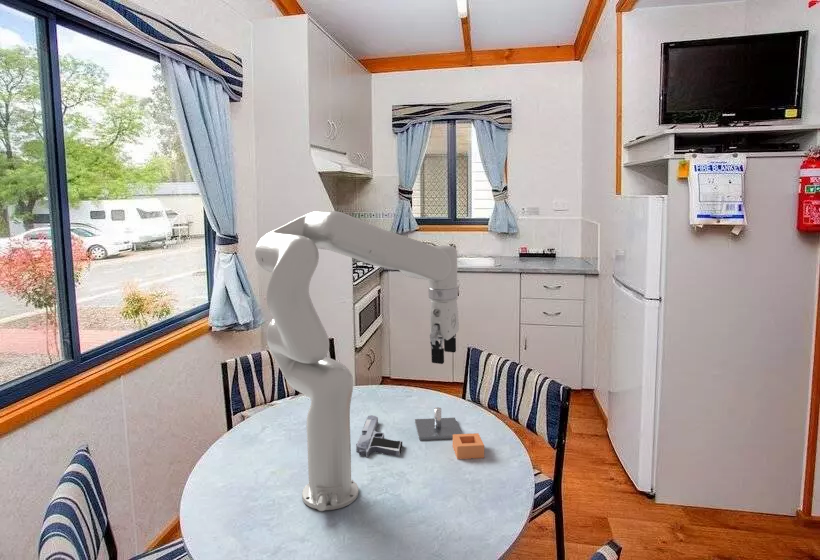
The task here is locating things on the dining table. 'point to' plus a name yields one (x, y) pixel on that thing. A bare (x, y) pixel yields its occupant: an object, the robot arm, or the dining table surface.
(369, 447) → the handgun
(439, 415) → the plate
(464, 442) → the orange square ring block
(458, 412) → the dining table surface
